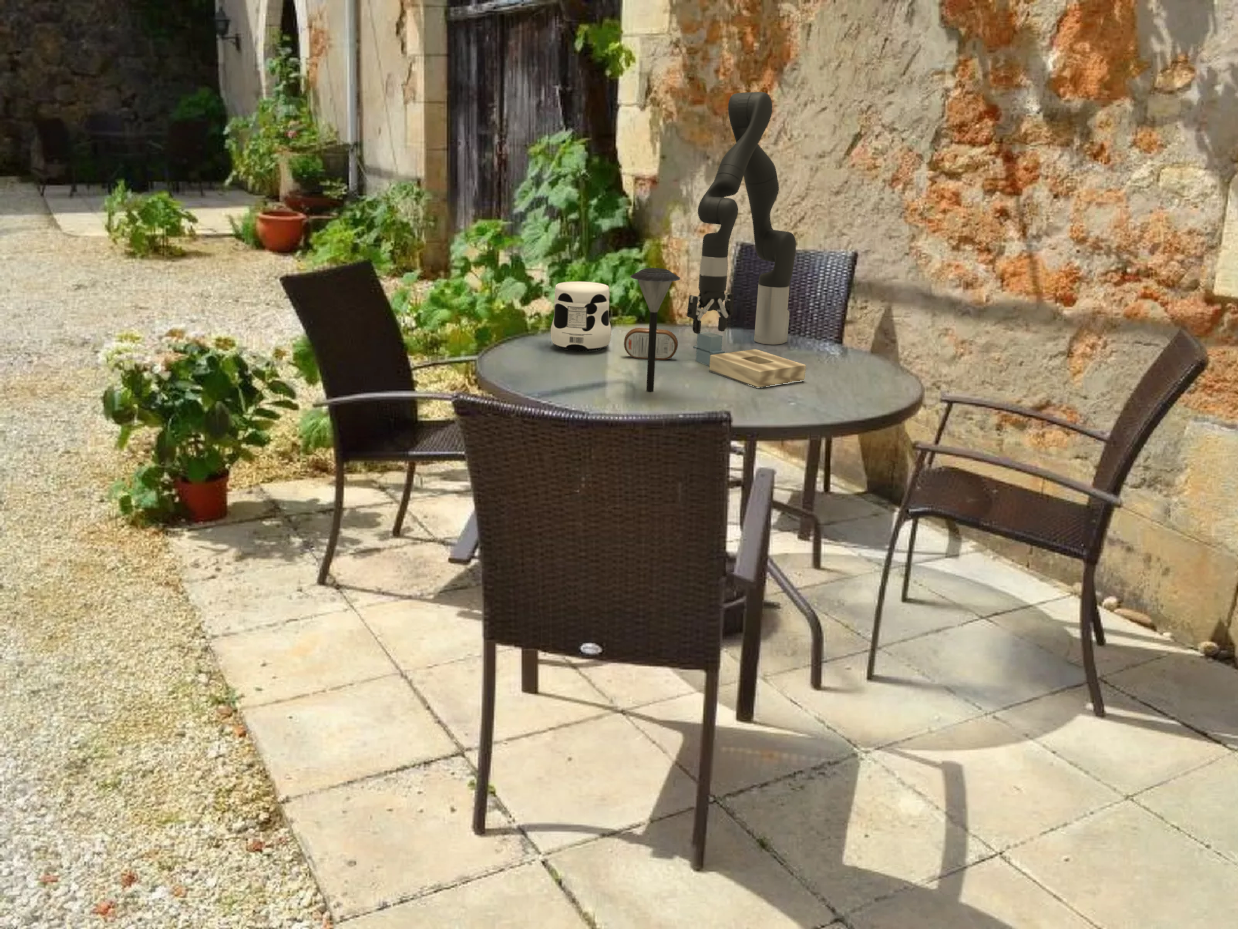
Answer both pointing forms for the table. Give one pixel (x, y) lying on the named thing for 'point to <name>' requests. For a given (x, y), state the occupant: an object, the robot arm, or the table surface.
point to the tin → (639, 341)
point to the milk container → (581, 316)
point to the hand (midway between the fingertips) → (709, 332)
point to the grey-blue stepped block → (708, 346)
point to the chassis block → (756, 368)
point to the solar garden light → (653, 308)
